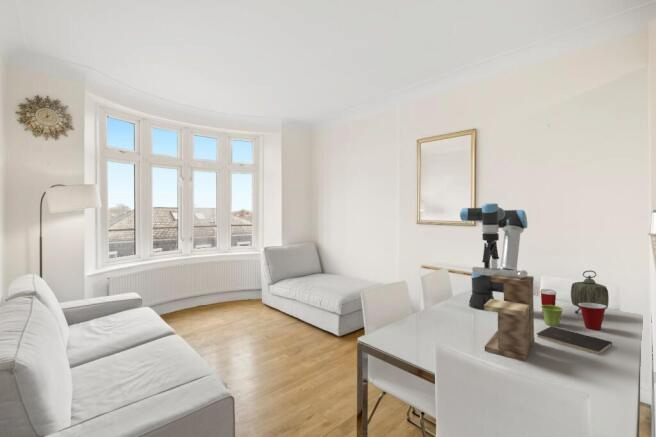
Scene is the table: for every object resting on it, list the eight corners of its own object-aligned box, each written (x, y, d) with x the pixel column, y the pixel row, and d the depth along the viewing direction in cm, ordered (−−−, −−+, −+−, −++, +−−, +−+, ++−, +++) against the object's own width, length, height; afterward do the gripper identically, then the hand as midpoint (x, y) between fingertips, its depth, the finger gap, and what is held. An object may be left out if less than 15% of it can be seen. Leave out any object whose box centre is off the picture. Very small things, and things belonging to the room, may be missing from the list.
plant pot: (567, 327, 155) (567, 310, 155) (546, 327, 157) (546, 310, 157) (557, 321, 164) (557, 305, 164) (537, 320, 166) (537, 304, 166)
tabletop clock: (598, 312, 176) (597, 269, 175) (611, 318, 167) (610, 272, 166) (570, 312, 177) (570, 269, 177) (582, 317, 168) (581, 272, 168)
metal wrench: (470, 274, 148) (470, 268, 148) (475, 271, 154) (475, 265, 154) (524, 279, 134) (524, 273, 134) (527, 276, 140) (527, 270, 140)
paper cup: (551, 312, 178) (551, 288, 178) (560, 317, 170) (559, 292, 170) (537, 312, 179) (536, 288, 178) (545, 317, 171) (544, 292, 171)
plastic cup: (593, 323, 160) (592, 300, 160) (613, 331, 149) (612, 307, 149) (572, 324, 159) (572, 301, 159) (591, 332, 149) (591, 308, 148)
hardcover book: (598, 356, 126) (598, 351, 126) (536, 338, 146) (536, 333, 146) (612, 346, 135) (612, 341, 135) (551, 330, 154) (551, 325, 154)
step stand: (484, 350, 133) (483, 281, 132) (497, 334, 150) (496, 272, 150) (525, 361, 123) (524, 286, 122) (534, 341, 140) (533, 276, 140)
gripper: (491, 234, 150) (492, 278, 150) (504, 231, 168) (504, 270, 169) (475, 234, 155) (476, 276, 155) (489, 231, 173) (489, 268, 174)
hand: (491, 273), depth 162 cm, fingers open, 13 cm apart
